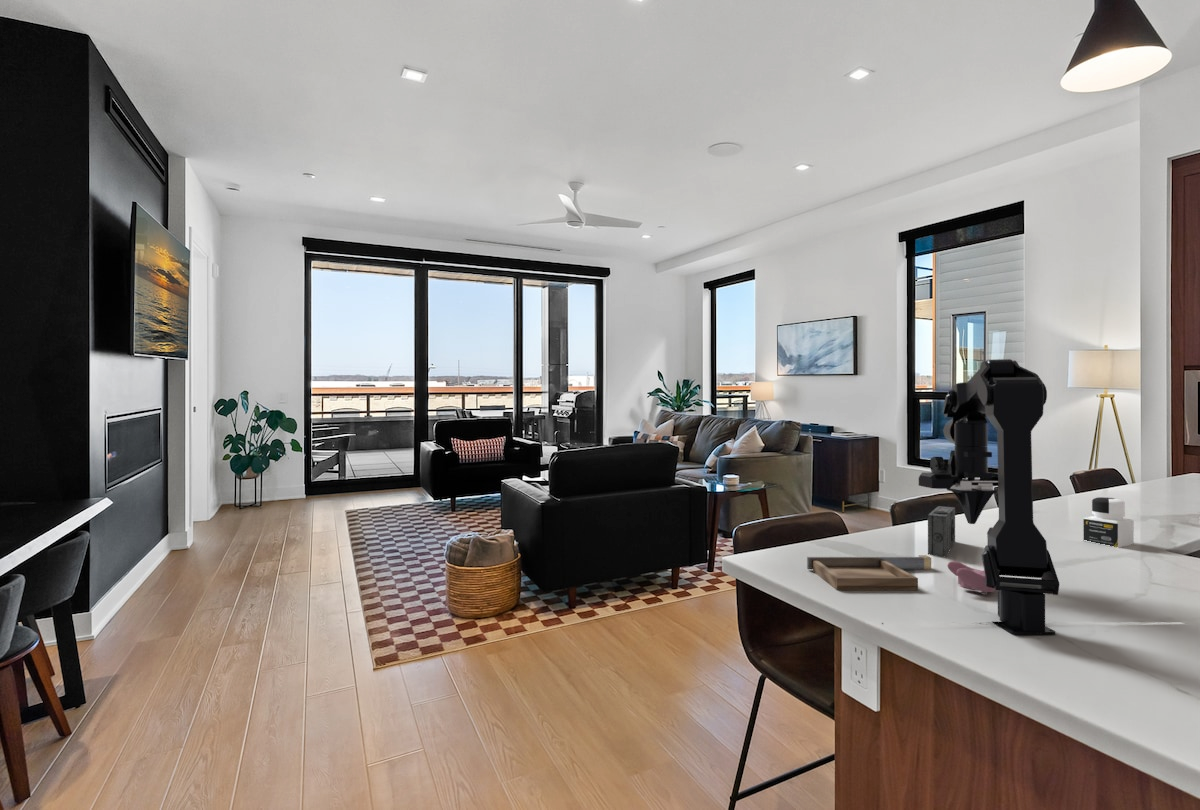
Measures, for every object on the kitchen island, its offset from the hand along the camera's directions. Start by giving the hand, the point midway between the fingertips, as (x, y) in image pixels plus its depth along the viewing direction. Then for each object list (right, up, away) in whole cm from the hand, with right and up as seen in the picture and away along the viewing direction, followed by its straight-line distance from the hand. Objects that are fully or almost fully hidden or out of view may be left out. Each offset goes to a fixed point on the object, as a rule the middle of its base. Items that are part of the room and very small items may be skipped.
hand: (971, 523), depth 124 cm
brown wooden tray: (-23, -10, -3) cm, 26 cm away
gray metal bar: (-19, -10, +5) cm, 22 cm away
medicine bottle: (+47, -11, +24) cm, 54 cm away
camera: (+5, -11, +19) cm, 22 cm away
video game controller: (-9, -8, -8) cm, 14 cm away
